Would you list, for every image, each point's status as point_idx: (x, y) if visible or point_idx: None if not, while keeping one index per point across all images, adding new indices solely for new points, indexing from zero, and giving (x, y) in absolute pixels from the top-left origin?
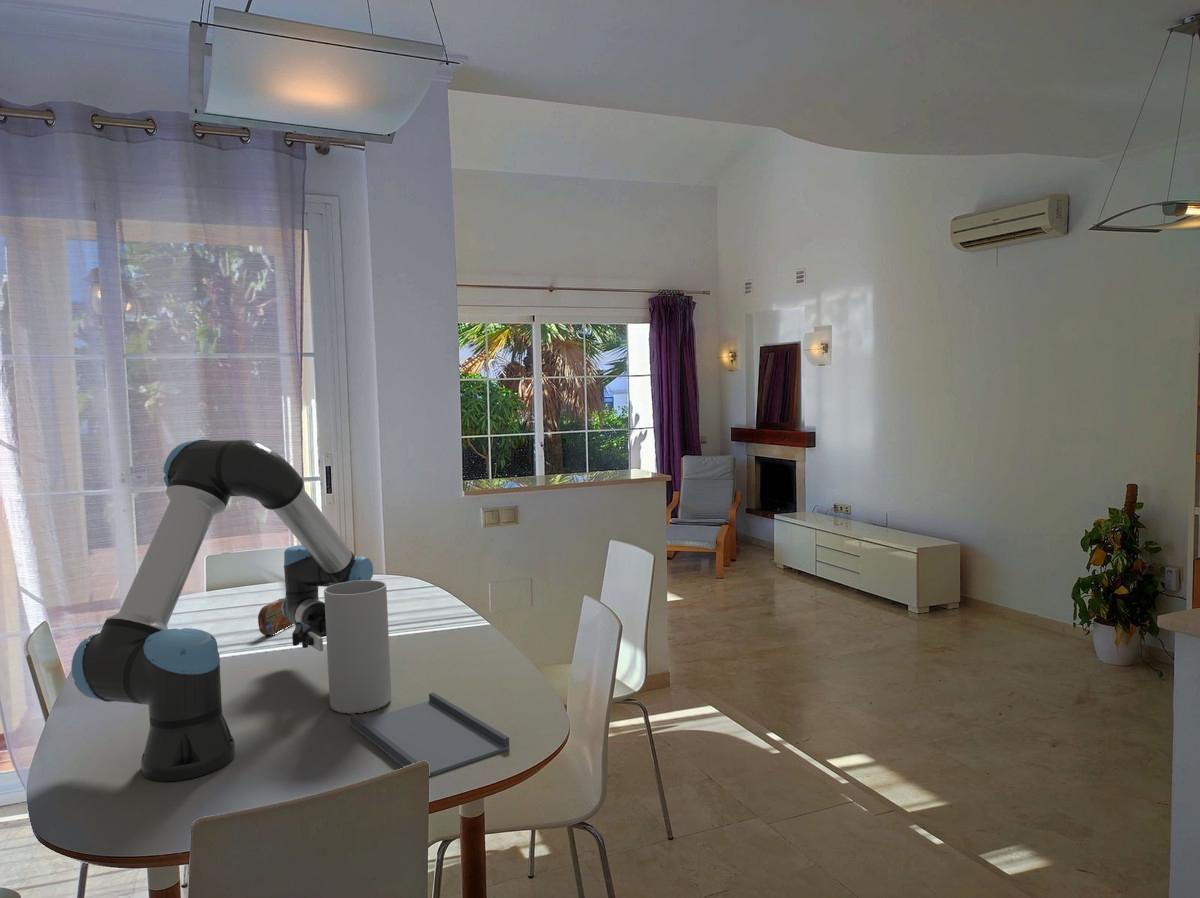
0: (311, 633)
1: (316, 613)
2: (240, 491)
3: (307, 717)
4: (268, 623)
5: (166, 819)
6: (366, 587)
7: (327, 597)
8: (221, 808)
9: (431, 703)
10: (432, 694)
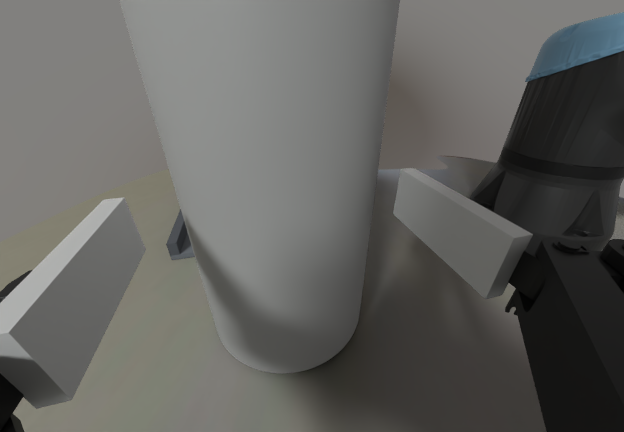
0: (490, 214)
1: None
2: None
3: (401, 287)
4: None
5: (466, 171)
6: None
7: None
8: (429, 171)
9: (185, 245)
10: (175, 238)
